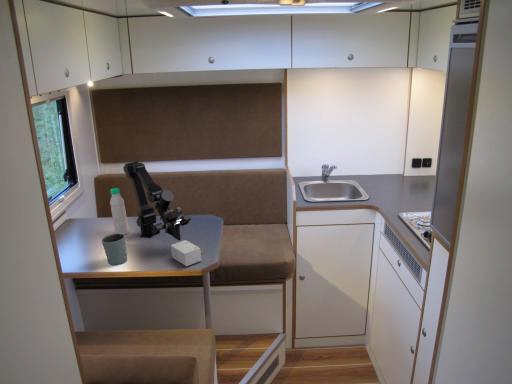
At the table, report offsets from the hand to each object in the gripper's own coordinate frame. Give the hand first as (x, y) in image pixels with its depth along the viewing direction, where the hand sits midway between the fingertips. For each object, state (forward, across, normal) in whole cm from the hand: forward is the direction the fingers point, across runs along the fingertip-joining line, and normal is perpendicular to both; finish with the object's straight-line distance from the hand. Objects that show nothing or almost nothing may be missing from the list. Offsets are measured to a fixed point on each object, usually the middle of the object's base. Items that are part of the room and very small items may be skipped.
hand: (179, 240), depth 200 cm
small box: (+3, -1, +3) cm, 4 cm away
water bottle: (-28, -8, +39) cm, 49 cm away
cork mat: (+9, +2, +2) cm, 10 cm away
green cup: (-6, -24, +17) cm, 30 cm away
